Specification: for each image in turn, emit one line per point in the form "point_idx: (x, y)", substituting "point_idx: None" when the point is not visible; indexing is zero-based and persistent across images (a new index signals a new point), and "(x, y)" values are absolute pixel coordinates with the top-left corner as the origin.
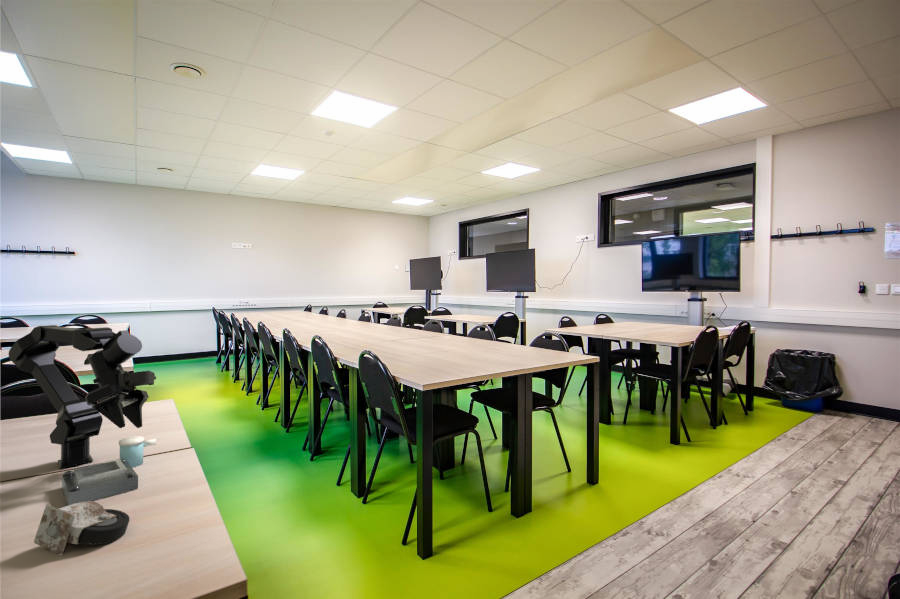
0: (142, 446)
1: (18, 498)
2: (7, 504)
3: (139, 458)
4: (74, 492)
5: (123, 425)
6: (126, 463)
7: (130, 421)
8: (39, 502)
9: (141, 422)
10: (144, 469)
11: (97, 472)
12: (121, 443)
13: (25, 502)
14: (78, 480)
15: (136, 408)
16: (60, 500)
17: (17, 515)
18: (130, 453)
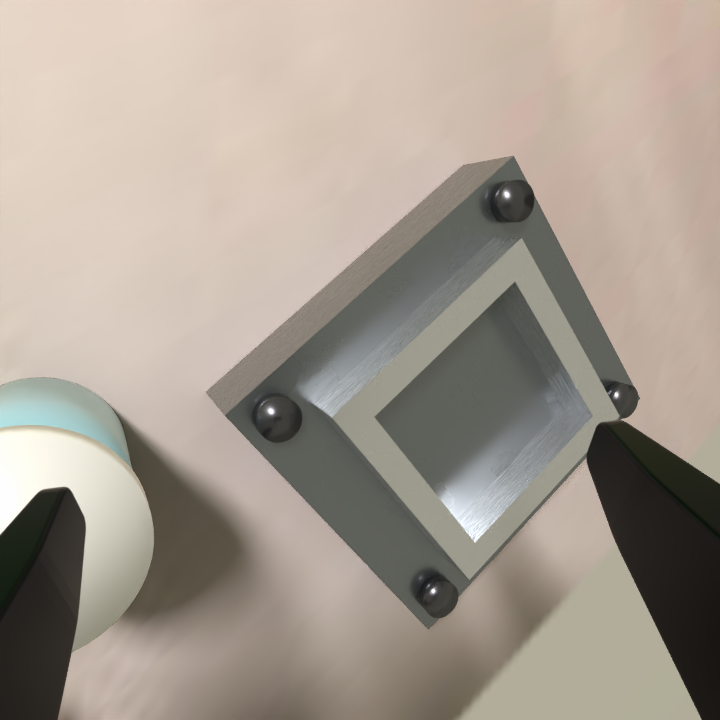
0: (7, 421)
1: (474, 665)
2: (519, 650)
3: (64, 394)
4: (627, 382)
5: (626, 433)
6: (292, 369)
7: (60, 701)
8: (524, 542)
9: (35, 528)
10: (155, 292)
11: (425, 453)
12: (145, 573)
13: (514, 599)
14: (617, 413)
15: None
16: None
17: None
18: (124, 455)
